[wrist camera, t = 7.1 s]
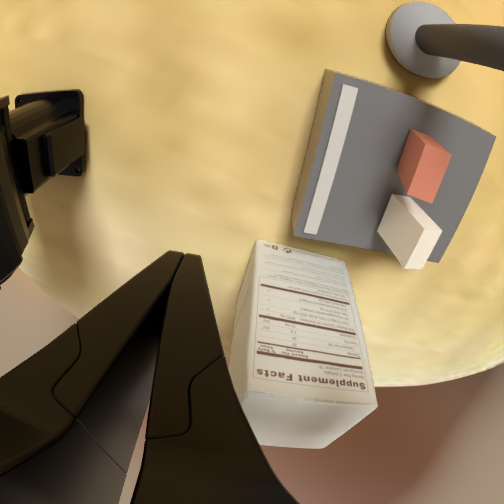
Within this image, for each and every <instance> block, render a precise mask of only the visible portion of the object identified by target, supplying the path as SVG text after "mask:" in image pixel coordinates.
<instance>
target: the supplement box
mask: <svg viewBox="0 0 504 504" xmlns="http://www.w3.org/2000/svg"><path fill="white" fill-rule="evenodd" d="M229 373H230V376H231V379H232V382H233V385H234V389H235V391H236V394H237V396H238V399H239V401H240V404H241V406H242V409H243V411H244V413H245V415H246V417H247V420H248V422H249V424H250V426H251V428H252V430H253V432H254V434H255V436H256V438H257V440H258V442H259V444H260V445H268V446H280V447H294V448H317V449H319V448H324V447H326V446H327V445H328V444H330V443H331V442H333V441H334V440H335V439H337V438H338V437H339V436H341V435H342V434H343V433H345V432H346V431H348V430H349V429H350V428H352V427H353V426H354V425H355V424H356V423H358V422H359V421H361V420H362V419H363V418H364V417H366V416H367V415H368V414H369V413H371V412H372V411H373V410H375V409H376V407H378V404H377V400H376V394H375V389H374V382H373V377H372V372H371V367H370V362H369V357H368V352H367V347H366V342H365V337H364V333H363V329H362V324H361V320H360V316H359V312H358V308H357V303H356V299H355V295H354V291H353V287H352V284H351V280H350V276H349V273H348V269H347V265H346V262H345V261H344V260H341V259H337V258H333V257H330V256H325V255H322V254H318V253H314V252H309V251H306V250H302V249H297V248H293V247H289V246H285V245H281V244H277V243H272V242H268V241H264V240H256V243H255V246H254V248H253V251H252V254H251V257H250V260H249V264H248V267H247V270H246V273H245V277H244V280H243V283H242V287H241V290H240V293H239V297H238V300H237V303H236V313H235V321H234V329H233V338H232V345H231V353H230V361H229Z"/></svg>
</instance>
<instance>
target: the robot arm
mask: <svg viewBox="0 0 504 504" xmlns="http://www.w3.org/2000/svg"><path fill="white" fill-rule="evenodd" d="M74 94H76V96H77V99H75V98H74ZM20 99H21V102H20ZM9 104H10V103H9V95H8V96H4V97H1V98H0V285H1V284H2V283H4V282H5V281H6V280H7V279H8V278H9V277H10V276H11V275H12V274H13V272H14V271H15V270H16V269H17V268H18V266H19V265H20V264H21V262H22V260H23V258H22V254H23V251H24V249H25V247H26V245H27V243H28V240H29V237H30V235H31V233H32V231H33V229H34V223H33V220H32V218H30V214H29V211H28V207H27V203H26V200H25V196H26V195H28V194H29V193H34V192H35V191H36V190H37V189H38V188H39V187H41V186H42V185H43V184H44V183H45V182H47V181H48V180H49V179H50V178H51V177H55V176H56V175H57V174H58V175H69V176H81V175H82V174H83V173H84V172H85V156H84V153H85V136H84V119H83V95H82V92H81V91H80V90H79V89H71V90H56V91H44V92H35V93H26V94H21V95H18V96H17V97H16V98H15V109H14V110H11V111H9V109H8V105H9ZM77 167H79V169H80V171H79V170H78V169H77ZM0 289H1V287H0ZM149 401H150V405H149V411H148V419H147V427H146V435H145V439H146V441H145V444H144V453H143V458H142V463H141V468H140V472H139V475H138V478H137V482H136V486H135V489H134V492H133V496H132V499H131V502H130V504H300V503H299V502H298V501H297V500H296V499H295V498H294V497H293V496H292V495H291V494H290V493H289V491H288V490H287V489H286V488H285V487H284V486H283V484H282V483H281V482H280V480H279V479H278V477H277V476H276V474H275V473H274V471H273V469H272V468H271V466H270V464H269V462H268V460H267V459H266V457H265V455H264V453H263V451H262V449H261V447H260V444H259V442H258V440H257V438H256V436H255V434H254V432H253V430H252V428H251V426H250V424H249V422H248V420H247V417H246V415H245V413H244V411H243V409H242V406H241V404H240V401H239V399H238V396H237V394H236V391H235V389H234V385H233V382H232V379H231V376H230V373H229V369H228V365H227V362H226V358H225V357H224V351H223V347H222V343H221V339H220V335H219V331H218V327H217V323H216V319H215V315H214V311H213V306H212V302H211V298H210V294H209V289H208V285H207V281H206V276H205V272H204V267H203V263H202V258H201V256H200V255H195V254H189V253H187V254H185V255H184V253H183V252H177V251H168V252H166V253H165V254H163V255H162V256H161V257H159V258H158V259H157V260H155V261H154V262H153V263H151V264H150V265H149V266H147V267H146V268H145V269H143V270H142V271H141V272H139V273H138V274H137V275H135V276H134V277H133V278H132V279H130V280H129V281H128V282H126V283H125V284H124V285H122V286H121V287H120V288H119V289H117V290H116V291H115V292H113V293H112V294H111V295H110V296H108V297H107V298H106V299H104V300H103V301H102V302H101V303H99V304H98V305H97V306H96V307H94V308H93V309H92V310H91V311H89V312H88V313H87V314H86V315H84V316H83V317H82V318H81V319H79V320H78V321H77V324H73V325H72V326H71V327H70V328H68V329H67V330H66V331H65V332H63V333H62V334H61V335H59V336H58V337H57V338H56V339H54V340H53V341H52V342H51V343H49V344H48V345H47V346H45V347H44V348H42V349H41V350H40V351H38V352H37V353H35V354H34V355H33V356H31V357H30V358H28V359H27V360H25V361H24V362H22V363H21V364H19V365H18V366H16V367H15V368H14V369H12V370H11V371H9V372H8V373H6V374H5V375H4V376H2V377H1V378H0V504H118V503H119V499H120V496H121V493H122V489H123V486H124V482H125V478H126V473H127V471H128V468H129V464H130V461H131V458H132V454H133V451H134V448H135V444H136V441H137V438H138V435H139V432H140V428H141V425H142V422H143V419H144V416H145V413H146V409H147V407H148V404H149Z"/></svg>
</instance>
